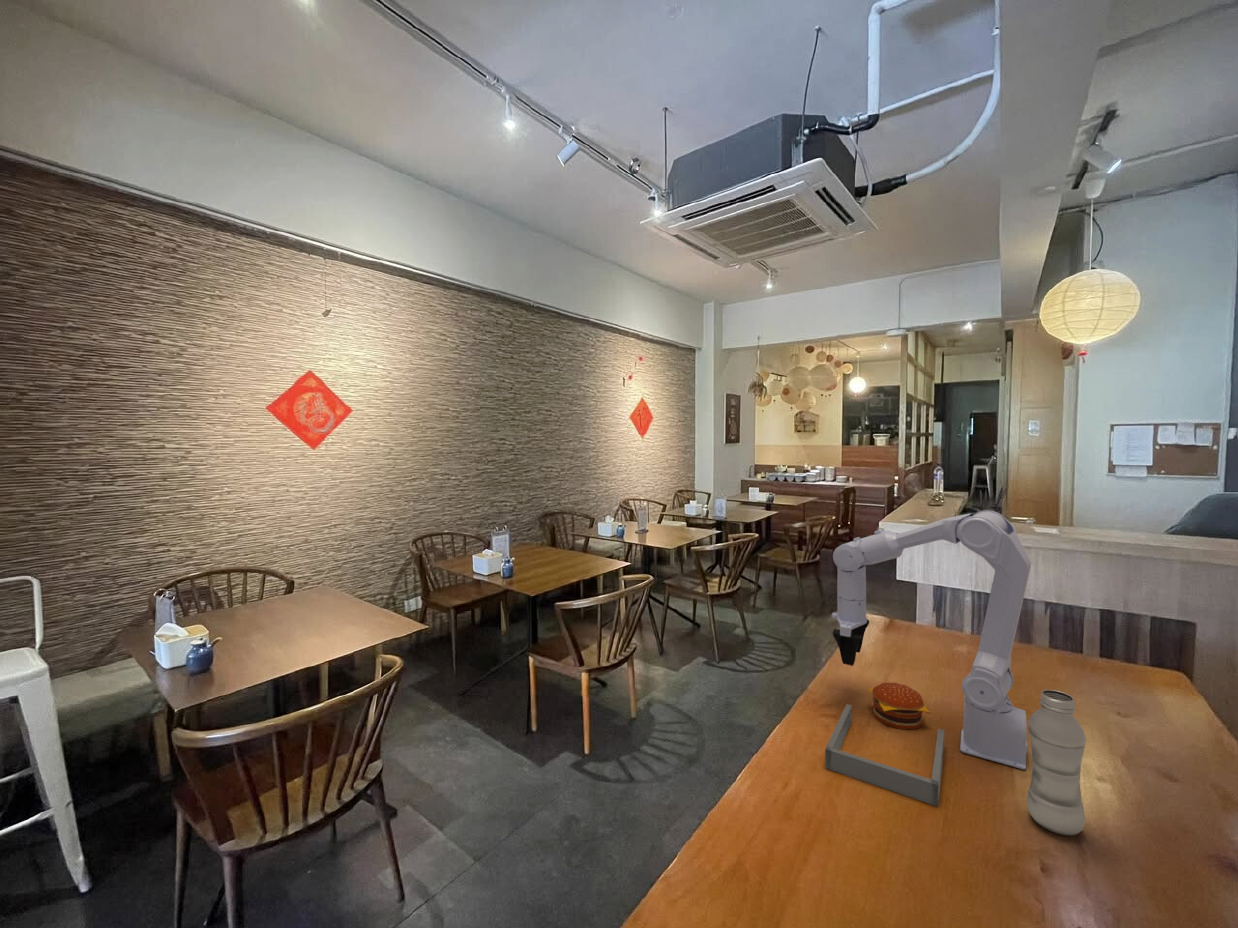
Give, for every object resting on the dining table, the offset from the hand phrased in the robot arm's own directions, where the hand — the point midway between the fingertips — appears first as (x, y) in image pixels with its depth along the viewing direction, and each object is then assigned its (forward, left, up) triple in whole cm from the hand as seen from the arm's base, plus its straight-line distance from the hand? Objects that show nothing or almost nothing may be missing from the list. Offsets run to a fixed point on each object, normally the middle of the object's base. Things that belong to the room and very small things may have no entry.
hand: (851, 657), depth 112 cm
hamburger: (-9, +2, -10) cm, 14 cm away
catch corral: (-9, +18, -10) cm, 22 cm away
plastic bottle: (-32, +22, -10) cm, 40 cm away
